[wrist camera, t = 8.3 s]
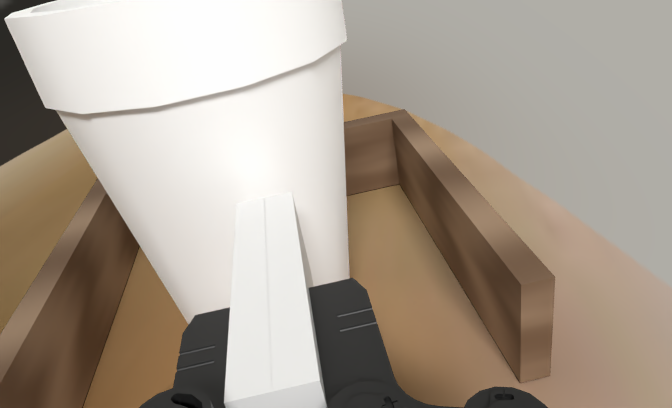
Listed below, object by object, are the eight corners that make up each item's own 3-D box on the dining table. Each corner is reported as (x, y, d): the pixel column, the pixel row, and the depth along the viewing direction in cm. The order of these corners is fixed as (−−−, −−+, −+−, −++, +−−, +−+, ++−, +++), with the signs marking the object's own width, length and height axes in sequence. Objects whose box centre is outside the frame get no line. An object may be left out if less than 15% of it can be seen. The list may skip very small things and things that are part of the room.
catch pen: (550, 375, 16) (554, 277, 14) (17, 507, 16) (-54, 420, 14) (411, 173, 30) (404, 109, 28) (127, 236, 30) (100, 174, 28)
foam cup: (432, 282, 21) (399, -64, 15) (281, 457, 15) (125, 8, 9) (274, 232, 27) (202, -34, 21) (120, 345, 21) (-44, 22, 15)
